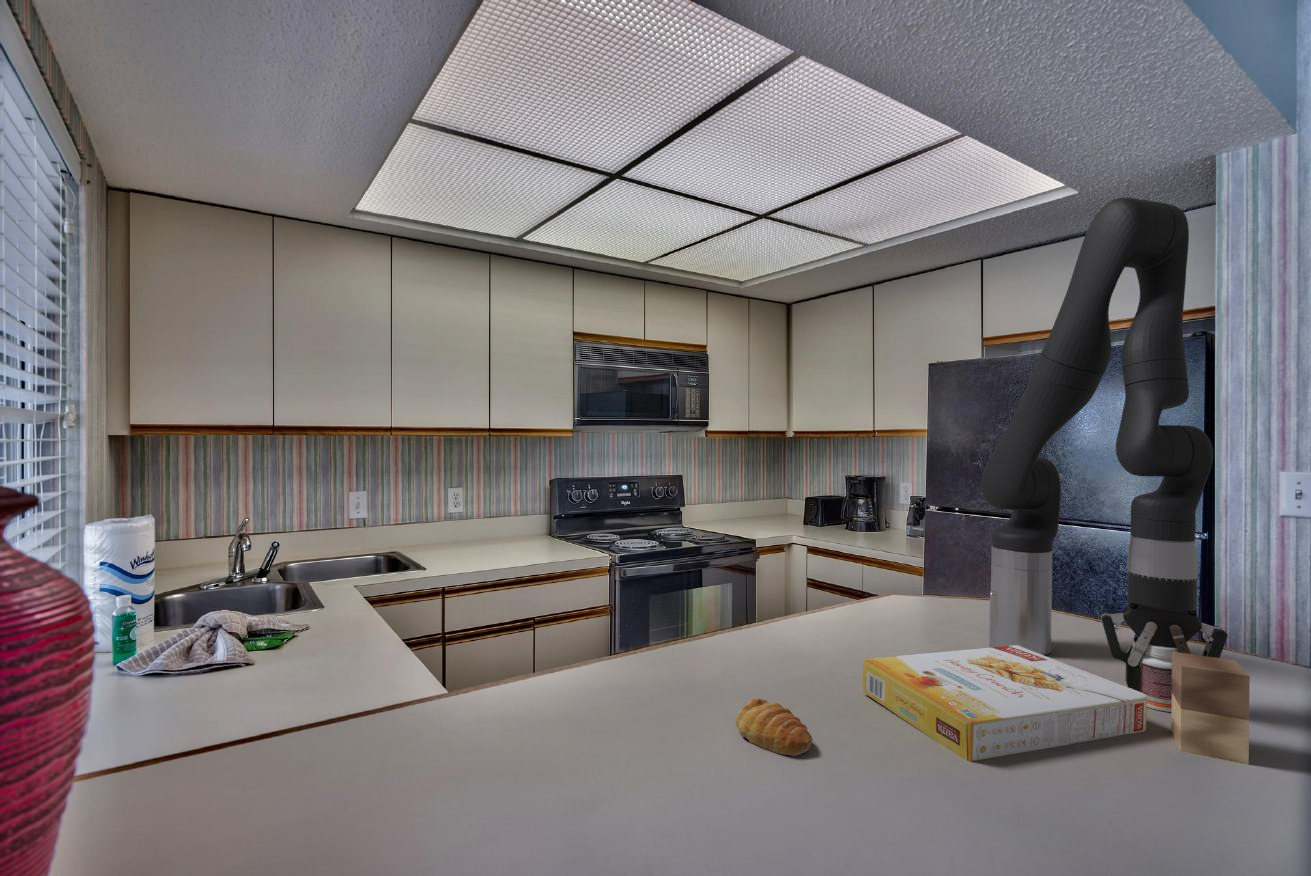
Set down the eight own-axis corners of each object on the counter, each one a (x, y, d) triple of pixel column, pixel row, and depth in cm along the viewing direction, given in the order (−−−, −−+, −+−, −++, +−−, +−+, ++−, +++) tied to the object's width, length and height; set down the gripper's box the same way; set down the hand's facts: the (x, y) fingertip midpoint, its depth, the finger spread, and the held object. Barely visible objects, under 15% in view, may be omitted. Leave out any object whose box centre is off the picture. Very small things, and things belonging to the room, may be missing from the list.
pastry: (826, 750, 76) (826, 717, 76) (785, 767, 72) (785, 732, 72) (768, 720, 83) (769, 691, 83) (728, 734, 79) (729, 703, 79)
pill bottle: (1190, 714, 86) (1191, 651, 86) (1149, 711, 87) (1150, 648, 87) (1169, 700, 91) (1170, 640, 91) (1131, 697, 92) (1131, 637, 92)
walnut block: (1181, 708, 76) (1181, 666, 76) (1171, 691, 81) (1172, 651, 81) (1249, 720, 73) (1249, 676, 73) (1234, 701, 78) (1235, 660, 78)
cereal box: (860, 656, 92) (1015, 639, 100) (859, 696, 92) (1014, 674, 101) (972, 720, 72) (1151, 691, 81) (971, 769, 73) (1150, 735, 81)
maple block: (1180, 751, 76) (1181, 708, 76) (1171, 731, 81) (1171, 691, 81) (1248, 765, 73) (1249, 720, 73) (1234, 743, 78) (1234, 702, 78)
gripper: (1100, 570, 89) (1098, 694, 89) (1237, 582, 82) (1236, 718, 82) (1096, 561, 96) (1094, 677, 96) (1223, 572, 89) (1221, 697, 89)
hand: (1159, 695), depth 89 cm, fingers closed on pill bottle, 4 cm apart
